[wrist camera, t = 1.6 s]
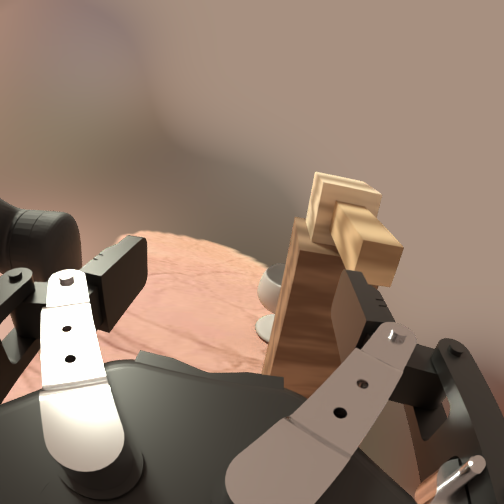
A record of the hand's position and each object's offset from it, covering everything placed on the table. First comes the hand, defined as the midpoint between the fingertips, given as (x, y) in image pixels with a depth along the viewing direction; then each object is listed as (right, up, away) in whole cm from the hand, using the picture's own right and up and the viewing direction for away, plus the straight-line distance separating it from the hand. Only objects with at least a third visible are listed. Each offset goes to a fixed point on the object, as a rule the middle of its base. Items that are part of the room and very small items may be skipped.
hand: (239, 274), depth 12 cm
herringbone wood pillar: (+7, -26, +38) cm, 46 cm away
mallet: (+11, +1, +20) cm, 23 cm away
